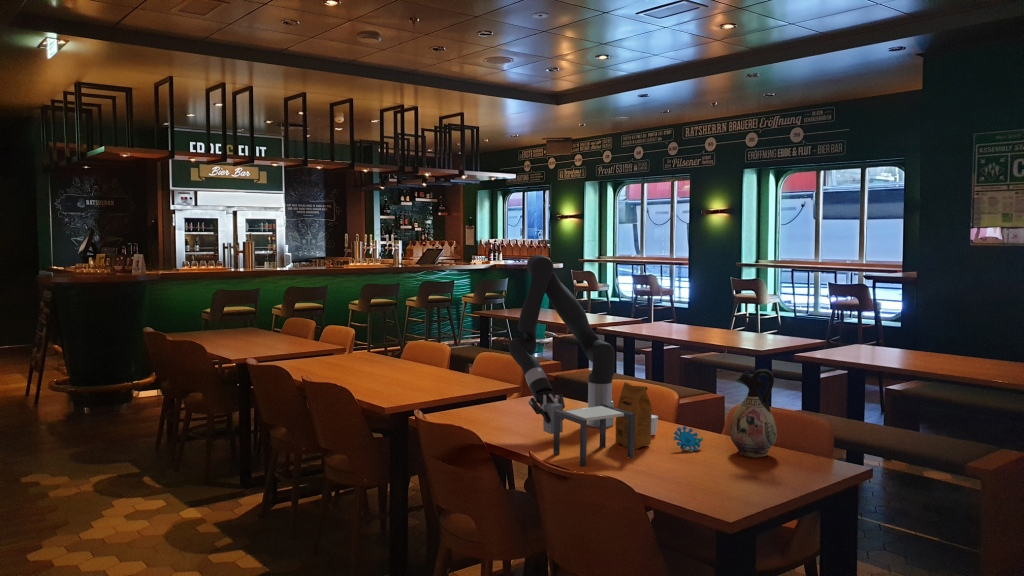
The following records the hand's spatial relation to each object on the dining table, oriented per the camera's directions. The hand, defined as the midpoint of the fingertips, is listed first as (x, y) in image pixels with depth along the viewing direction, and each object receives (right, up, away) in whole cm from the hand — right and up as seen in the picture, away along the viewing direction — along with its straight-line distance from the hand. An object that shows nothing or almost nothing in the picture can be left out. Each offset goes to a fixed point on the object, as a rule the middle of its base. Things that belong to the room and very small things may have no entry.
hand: (555, 421), depth 276 cm
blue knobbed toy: (+46, -9, -7) cm, 47 cm away
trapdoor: (+12, +5, -17) cm, 21 cm away
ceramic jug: (+67, -9, -13) cm, 69 cm away
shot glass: (+36, -8, +14) cm, 39 cm away
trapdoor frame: (+12, -9, -16) cm, 22 cm away
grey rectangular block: (-1, -4, +2) cm, 5 cm away
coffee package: (+27, -8, -1) cm, 29 cm away
